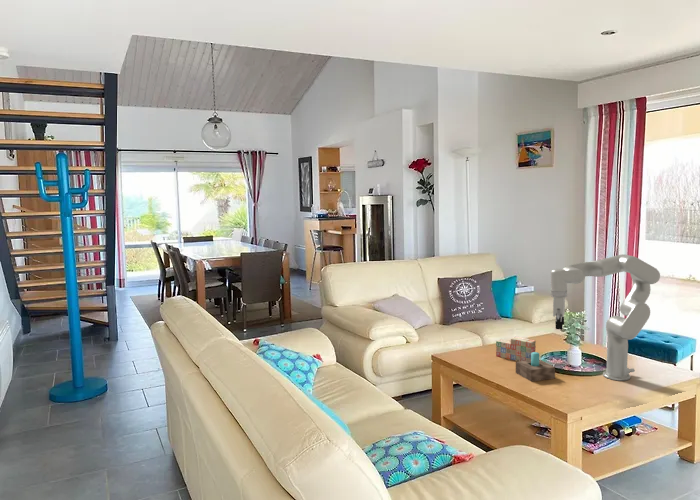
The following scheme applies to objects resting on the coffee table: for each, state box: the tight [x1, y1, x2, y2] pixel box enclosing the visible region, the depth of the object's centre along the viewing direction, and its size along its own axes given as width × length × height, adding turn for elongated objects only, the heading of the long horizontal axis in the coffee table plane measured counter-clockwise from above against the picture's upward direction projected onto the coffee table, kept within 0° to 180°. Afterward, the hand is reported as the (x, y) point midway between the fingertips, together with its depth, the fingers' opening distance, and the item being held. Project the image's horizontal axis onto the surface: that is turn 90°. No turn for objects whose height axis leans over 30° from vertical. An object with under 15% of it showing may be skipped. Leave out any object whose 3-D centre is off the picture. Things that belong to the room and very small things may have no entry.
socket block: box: [515, 359, 556, 382], centre depth 278 cm, size 14×14×6 cm
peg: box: [531, 351, 540, 367], centre depth 278 cm, size 4×4×12 cm
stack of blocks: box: [495, 336, 537, 362], centre depth 307 cm, size 21×6×12 cm, turn 47°
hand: (559, 326), depth 270 cm, fingers open, 9 cm apart
